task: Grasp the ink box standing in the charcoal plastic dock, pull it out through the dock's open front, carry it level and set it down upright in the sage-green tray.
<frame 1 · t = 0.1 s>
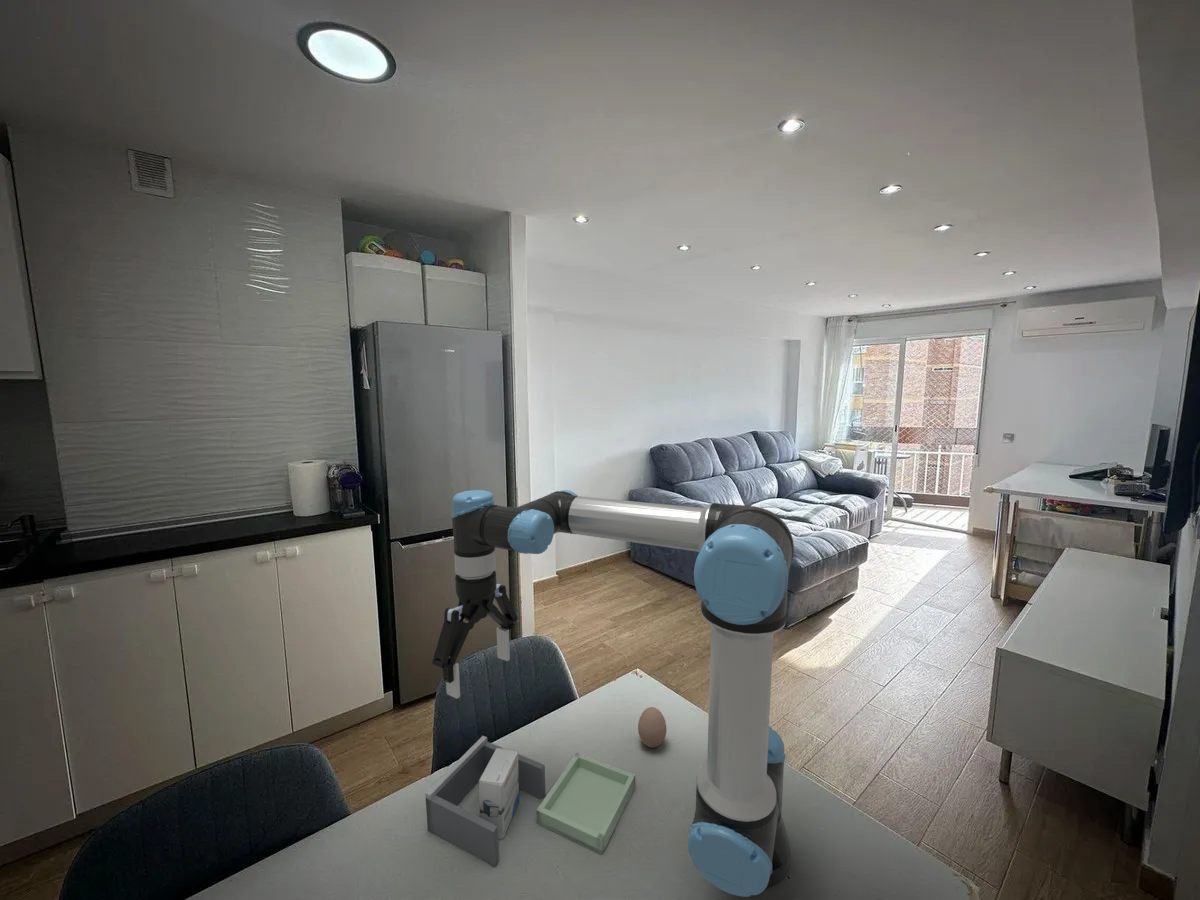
hand: (480, 676, 93), 28 cm above the table, fingers open, 13 cm apart
dock: (488, 812, 95), on the table
tray: (588, 805, 96), on the table
ink box: (501, 819, 93), on the table
egg: (652, 745, 112), on the table
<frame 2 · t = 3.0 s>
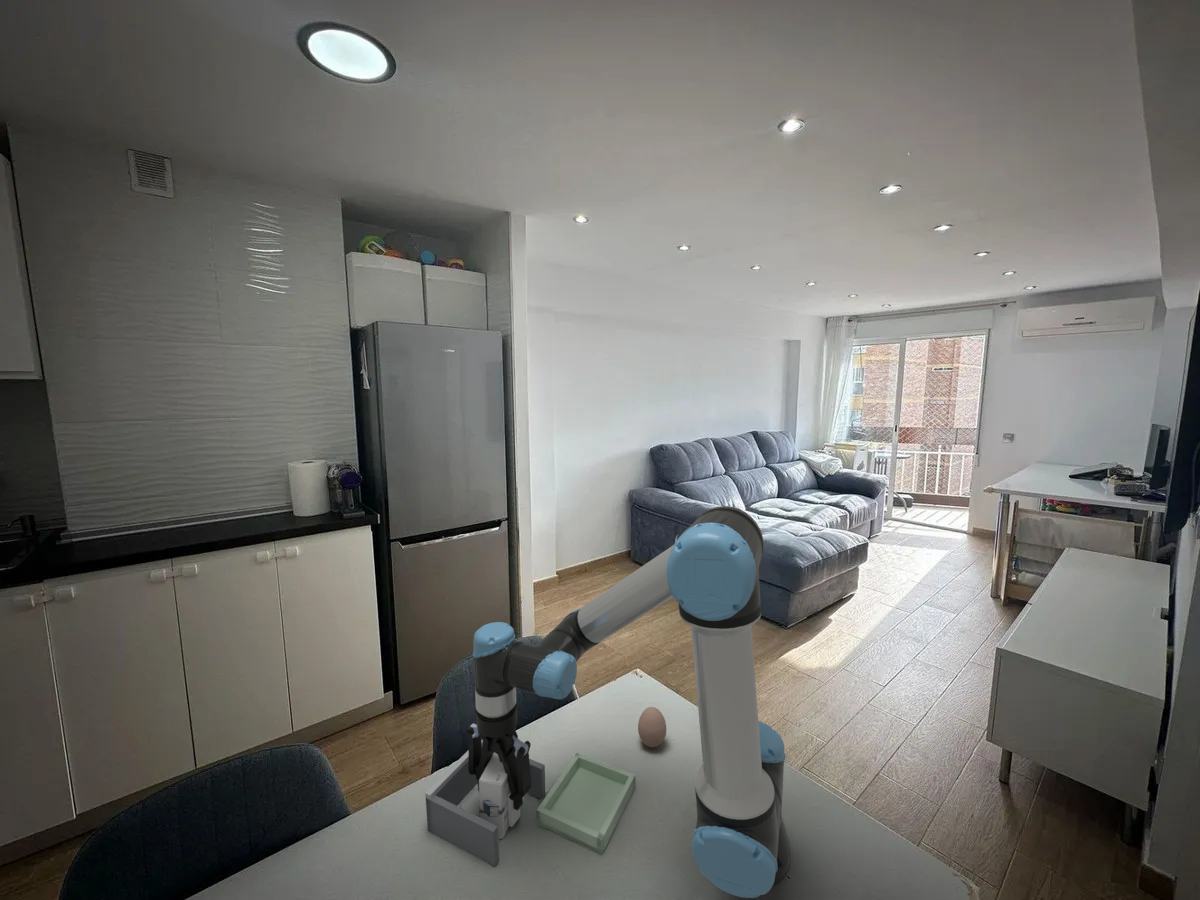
hand: (500, 813, 93), 1 cm above the table, fingers closed on ink box, 6 cm apart
ink box: (501, 819, 93), on the table, touching gripper
everything else where it was.
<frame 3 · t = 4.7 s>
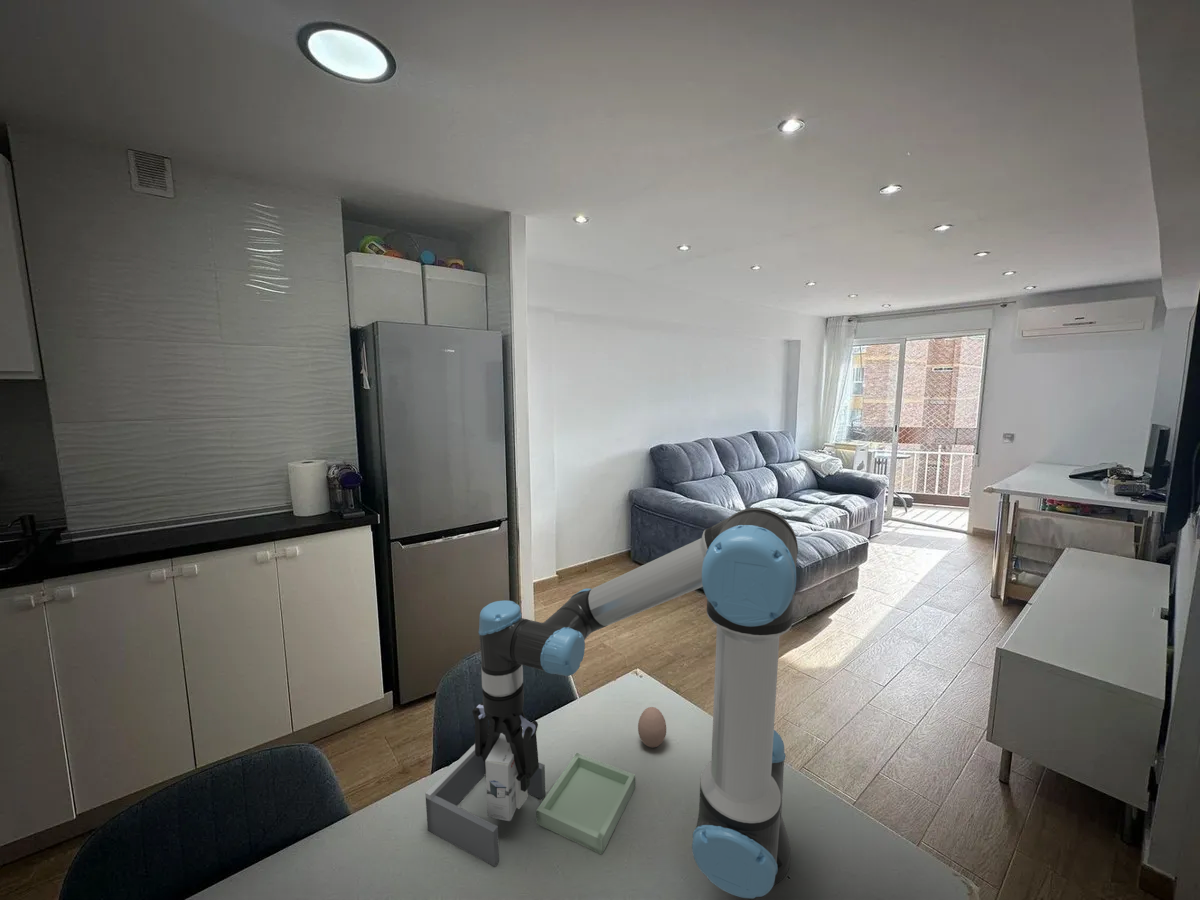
hand: (508, 796, 92), 6 cm above the table, fingers closed on ink box, 6 cm apart
ink box: (508, 801, 92), point 4 cm above the table, touching gripper
everything else where it was.
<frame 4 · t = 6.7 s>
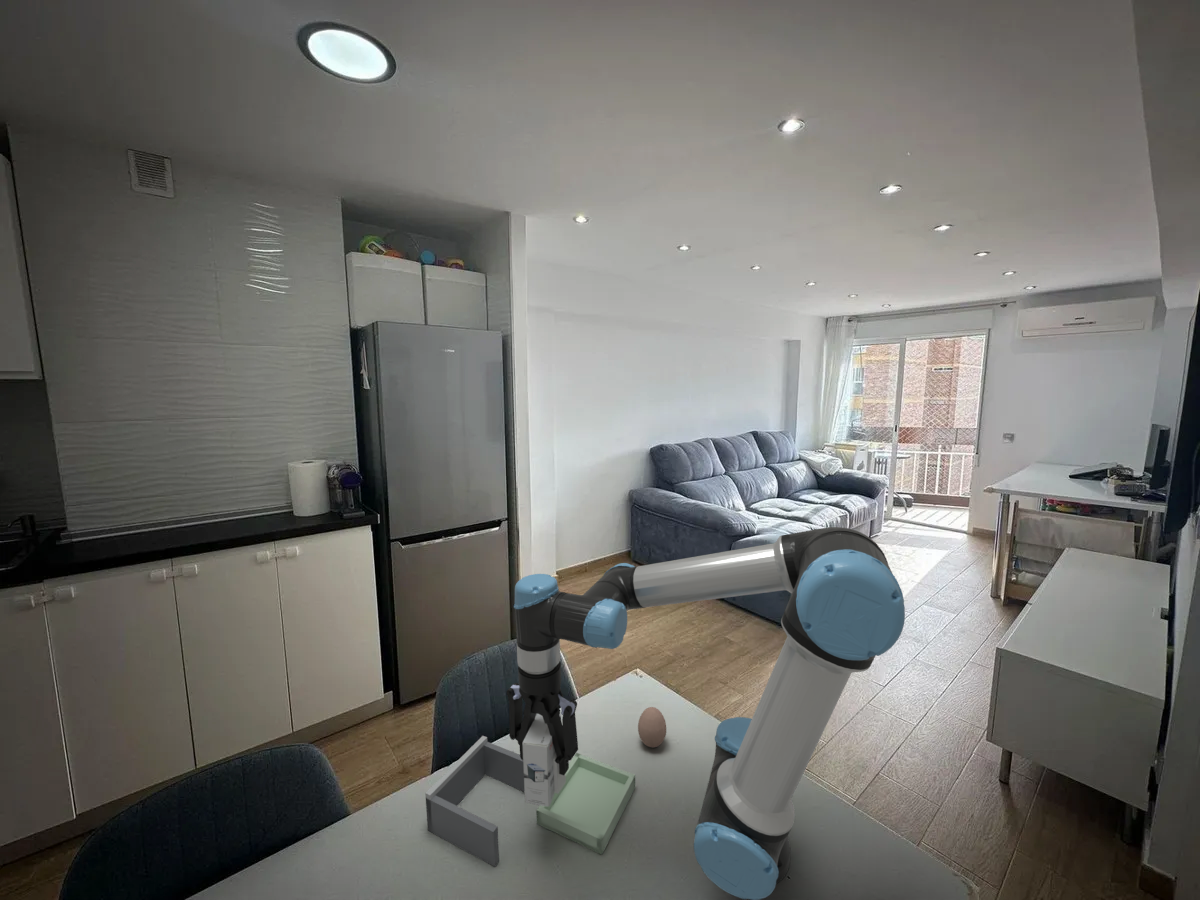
hand: (544, 781, 87), 12 cm above the table, fingers closed on ink box, 6 cm apart
ink box: (546, 786, 87), point 11 cm above the table, touching gripper
everything else where it was.
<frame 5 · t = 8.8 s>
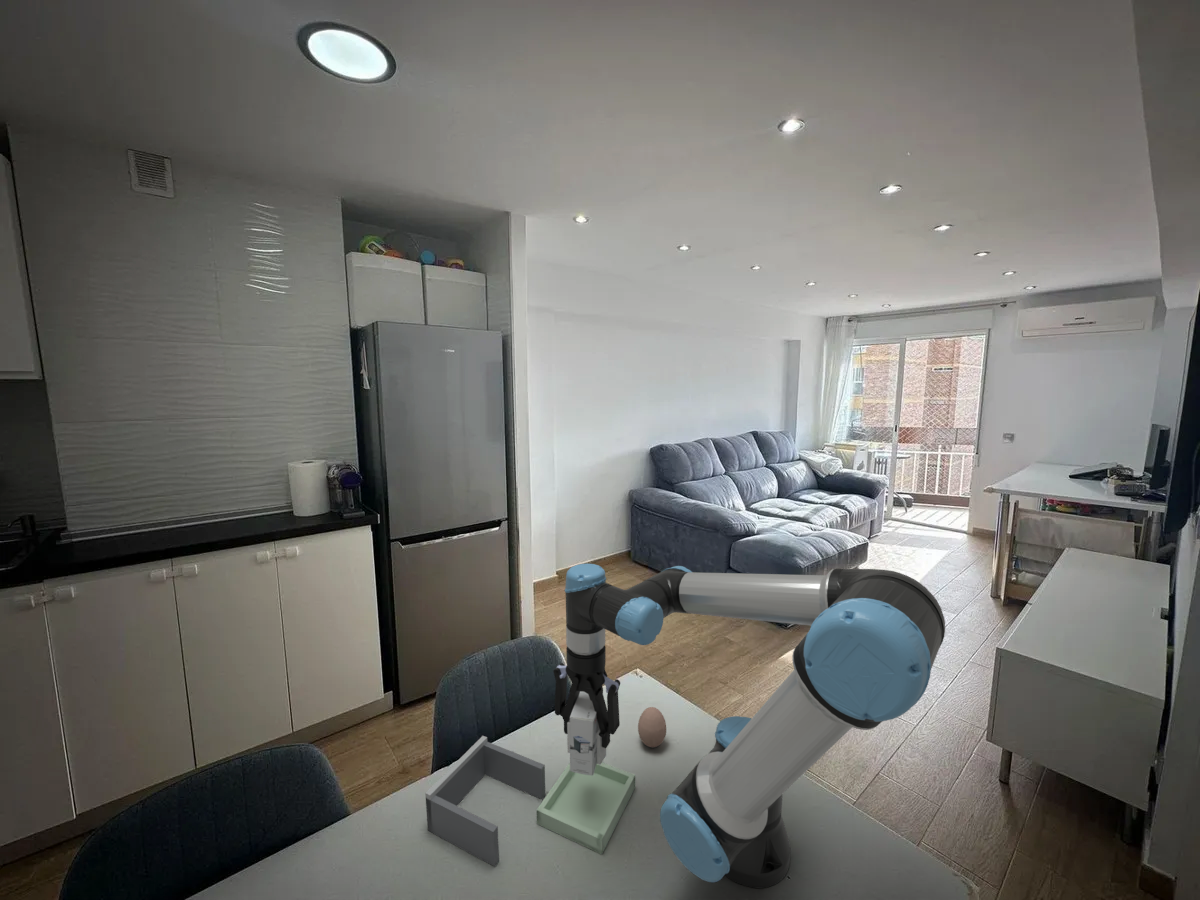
hand: (586, 753, 95), 11 cm above the table, fingers closed on ink box, 6 cm apart
ink box: (587, 758, 95), point 10 cm above the table, touching gripper
everything else where it was.
when the fingers open (3 cm above the table, at t = 10.3 s): ink box drops 1 cm, resting on tray.
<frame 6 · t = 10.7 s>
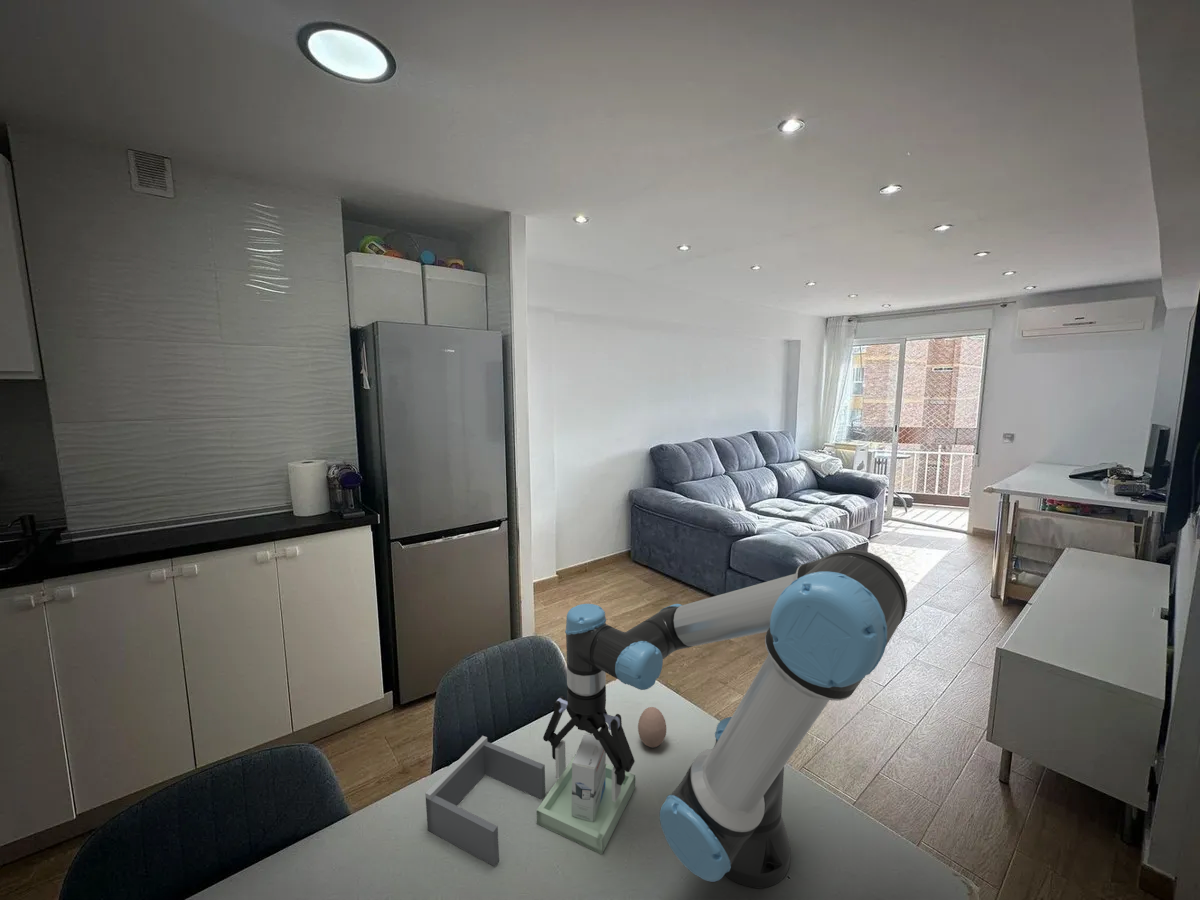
hand: (587, 784, 95), 5 cm above the table, fingers open, 12 cm apart
ink box: (589, 802, 96), point 1 cm above the table, touching tray
everything else where it was.
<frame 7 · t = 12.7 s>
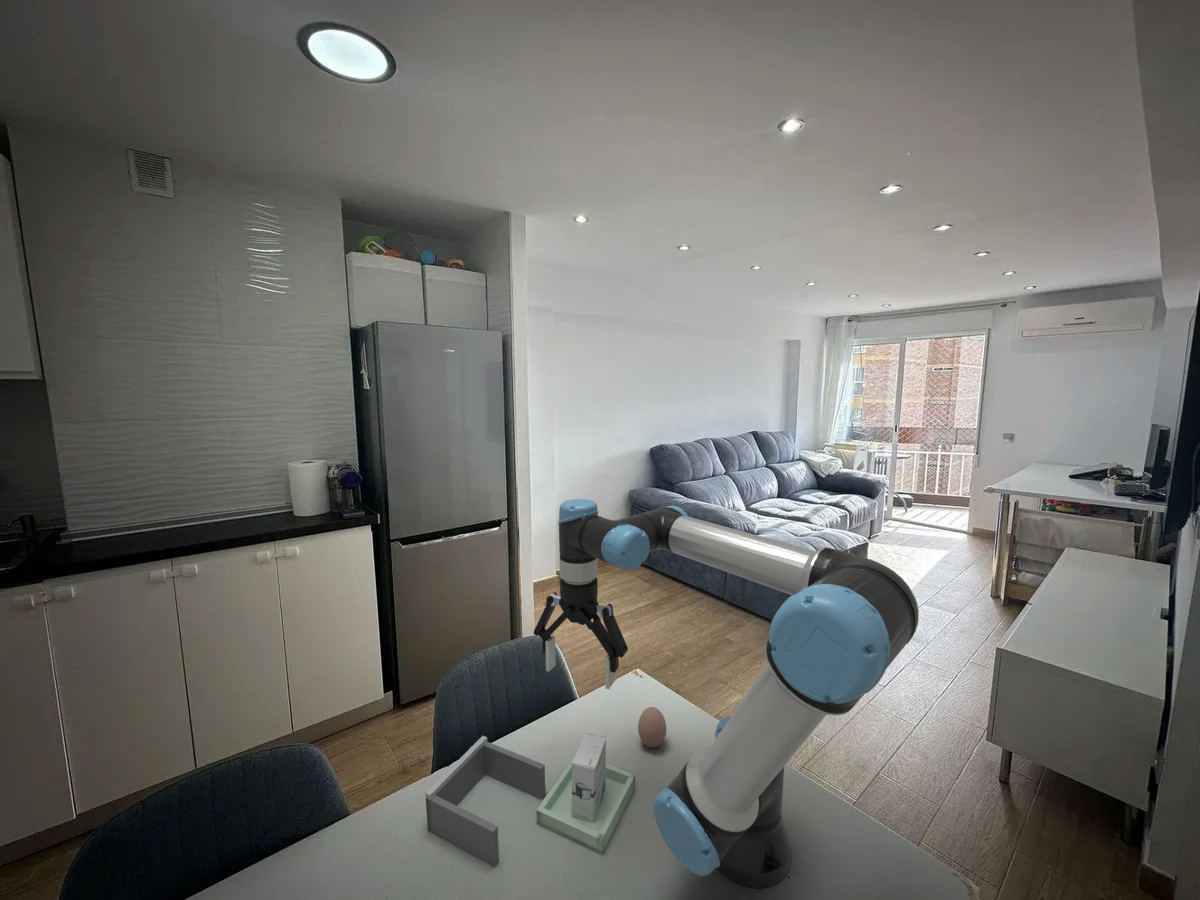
hand: (579, 676, 97), 25 cm above the table, fingers open, 13 cm apart
nothing on the table moved.
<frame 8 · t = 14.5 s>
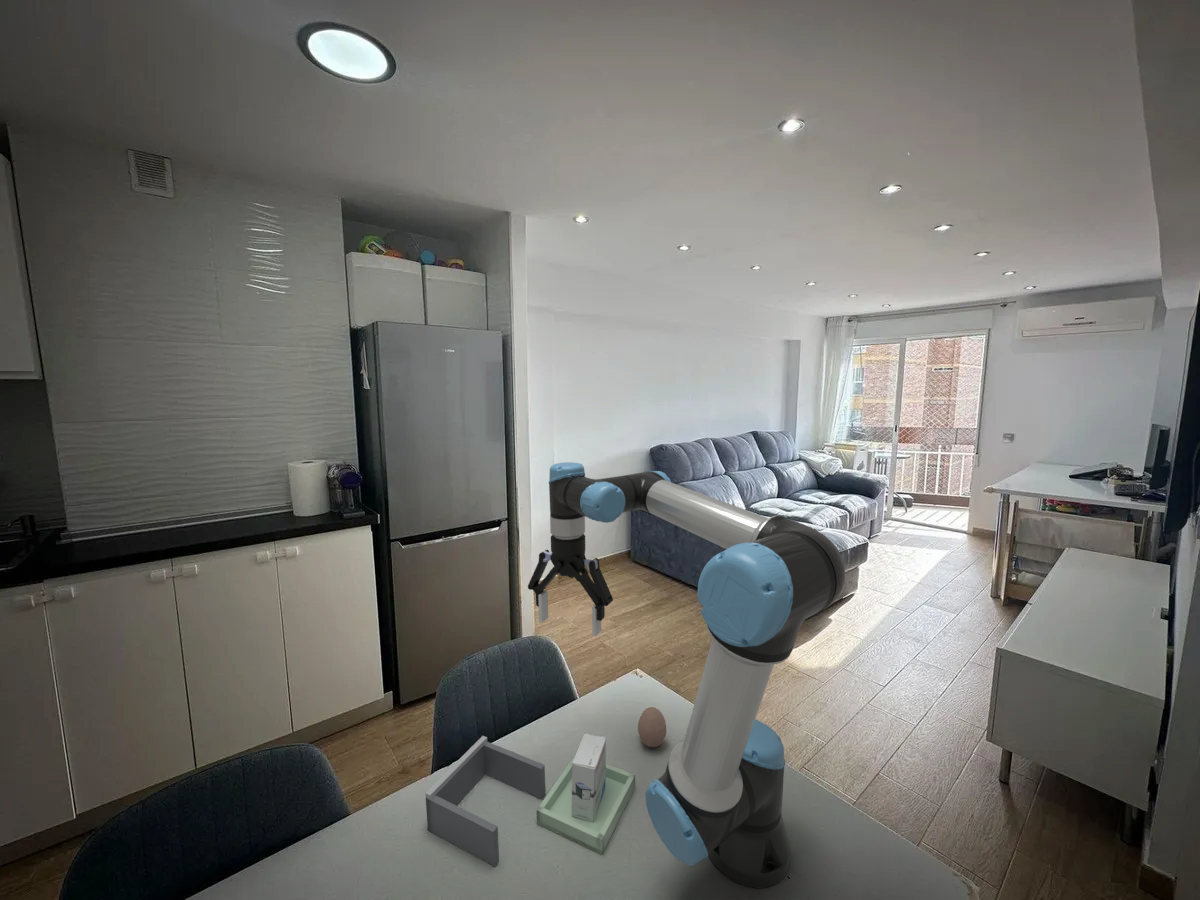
hand: (569, 626, 106), 31 cm above the table, fingers open, 13 cm apart
nothing on the table moved.
at the end: ink box inside the target area on the tray (0.4 cm from its centre), point 0.6 cm above the tray's base; ink box tilted 0°; the gripper is holding nothing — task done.
